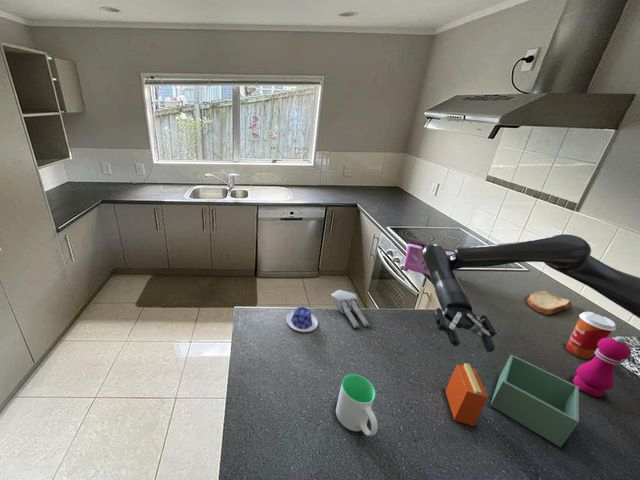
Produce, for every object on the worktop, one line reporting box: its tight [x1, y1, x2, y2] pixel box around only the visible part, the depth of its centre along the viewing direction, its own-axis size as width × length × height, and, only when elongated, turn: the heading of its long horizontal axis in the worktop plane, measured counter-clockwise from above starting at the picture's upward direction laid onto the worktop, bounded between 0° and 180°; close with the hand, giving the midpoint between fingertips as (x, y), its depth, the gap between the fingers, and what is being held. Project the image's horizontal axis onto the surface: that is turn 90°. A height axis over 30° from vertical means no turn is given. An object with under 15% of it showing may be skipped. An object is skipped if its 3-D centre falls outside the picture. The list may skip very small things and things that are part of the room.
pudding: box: [285, 306, 319, 333], centre depth 107 cm, size 12×12×5 cm
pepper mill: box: [572, 336, 632, 398], centre depth 82 cm, size 7×7×20 cm
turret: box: [330, 289, 370, 329], centre depth 114 cm, size 10×20×5 cm, turn 12°
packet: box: [445, 362, 489, 427], centre depth 76 cm, size 4×9×12 cm, turn 160°
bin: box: [490, 354, 580, 448], centre depth 77 cm, size 14×14×10 cm
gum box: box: [403, 241, 458, 277], centre depth 145 cm, size 24×8×14 cm, turn 60°
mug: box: [335, 373, 379, 437], centre depth 71 cm, size 12×8×10 cm, turn 19°
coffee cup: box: [565, 311, 617, 360], centre depth 97 cm, size 8×8×15 cm
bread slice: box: [526, 290, 572, 316], centre depth 124 cm, size 18×18×4 cm
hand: (474, 348), depth 74 cm, fingers open, 8 cm apart
